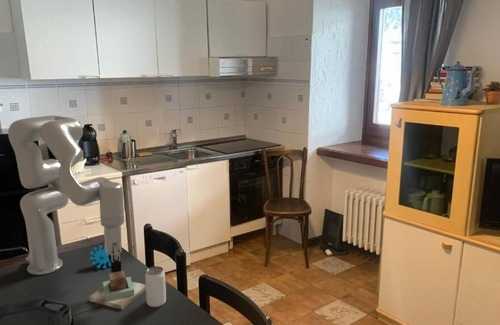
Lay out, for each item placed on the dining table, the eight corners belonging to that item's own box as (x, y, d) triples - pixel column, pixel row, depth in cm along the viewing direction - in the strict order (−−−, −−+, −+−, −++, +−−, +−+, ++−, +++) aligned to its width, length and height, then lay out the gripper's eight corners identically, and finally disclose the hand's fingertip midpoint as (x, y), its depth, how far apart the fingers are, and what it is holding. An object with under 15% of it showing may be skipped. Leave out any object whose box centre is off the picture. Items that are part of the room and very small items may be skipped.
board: (88, 300, 142) (88, 296, 141) (116, 281, 154) (115, 277, 154) (122, 309, 137) (121, 305, 136) (147, 288, 149) (147, 285, 149)
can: (145, 299, 143) (143, 267, 140) (164, 295, 145) (162, 264, 142) (148, 309, 137) (146, 276, 134) (168, 305, 139) (166, 272, 136)
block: (111, 295, 142) (110, 280, 140) (110, 288, 146) (109, 273, 145) (126, 292, 144) (125, 277, 142) (124, 285, 148) (123, 270, 147)
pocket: (105, 300, 139) (105, 295, 138) (103, 286, 147) (102, 281, 147) (134, 294, 143) (134, 289, 142) (130, 281, 151) (130, 276, 151)
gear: (92, 269, 159) (88, 245, 164) (88, 275, 163) (84, 252, 168) (120, 265, 166) (115, 242, 170) (116, 271, 170) (111, 248, 174)
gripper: (98, 211, 145) (101, 255, 149) (102, 230, 130) (105, 279, 134) (121, 208, 148) (123, 252, 152) (127, 227, 133) (129, 275, 137)
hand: (114, 264), depth 143 cm, fingers open, 9 cm apart
